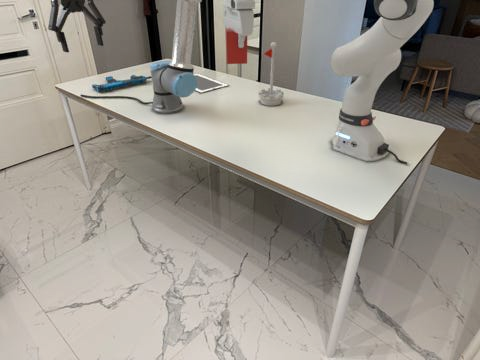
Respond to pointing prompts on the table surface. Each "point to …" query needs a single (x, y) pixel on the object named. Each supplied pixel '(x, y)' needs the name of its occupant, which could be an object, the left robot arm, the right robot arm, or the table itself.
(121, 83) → the submachine gun
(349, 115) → the right robot arm
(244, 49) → the block
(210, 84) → the tablet
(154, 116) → the table surface
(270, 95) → the flag stand
